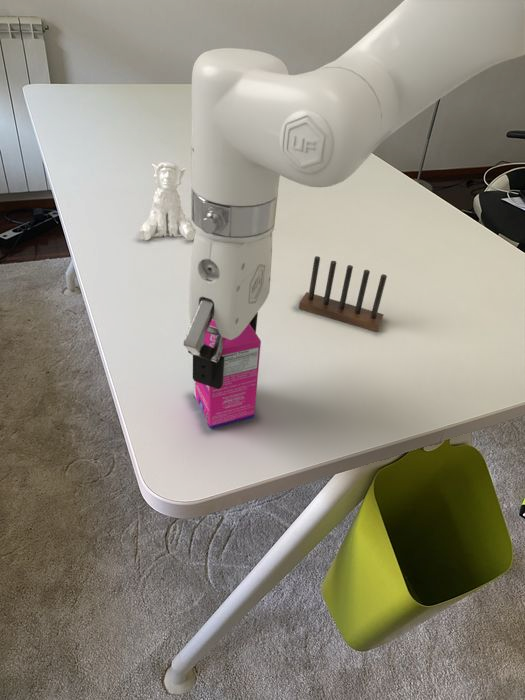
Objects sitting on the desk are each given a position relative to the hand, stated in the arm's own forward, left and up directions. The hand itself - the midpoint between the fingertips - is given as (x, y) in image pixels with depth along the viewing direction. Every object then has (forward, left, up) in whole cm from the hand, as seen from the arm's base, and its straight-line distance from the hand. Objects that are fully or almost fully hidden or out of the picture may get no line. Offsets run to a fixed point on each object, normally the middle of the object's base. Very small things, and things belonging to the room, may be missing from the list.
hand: (225, 358), depth 60 cm
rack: (-7, -25, -7) cm, 27 cm away
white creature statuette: (+28, -35, -8) cm, 46 cm away
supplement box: (0, 0, -8) cm, 8 cm away
